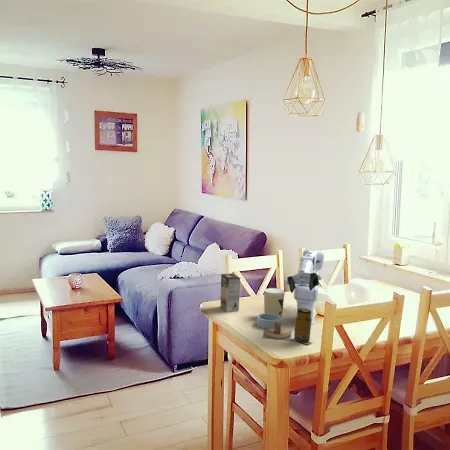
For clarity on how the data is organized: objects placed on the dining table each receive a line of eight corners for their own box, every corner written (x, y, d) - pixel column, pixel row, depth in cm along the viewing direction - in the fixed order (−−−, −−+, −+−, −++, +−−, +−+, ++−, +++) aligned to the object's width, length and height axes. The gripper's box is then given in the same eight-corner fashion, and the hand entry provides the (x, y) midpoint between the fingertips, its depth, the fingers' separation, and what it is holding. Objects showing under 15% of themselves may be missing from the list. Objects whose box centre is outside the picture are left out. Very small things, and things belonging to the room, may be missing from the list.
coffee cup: (282, 320, 211) (283, 294, 210) (261, 318, 213) (262, 292, 211) (284, 314, 220) (285, 288, 219) (264, 312, 222) (265, 287, 220)
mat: (264, 329, 199) (264, 328, 199) (291, 332, 197) (291, 331, 197) (262, 339, 188) (262, 338, 188) (290, 341, 186) (290, 340, 186)
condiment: (299, 336, 193) (302, 306, 192) (317, 341, 187) (320, 311, 186) (289, 339, 187) (291, 309, 186) (307, 345, 182) (310, 314, 181)
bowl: (258, 321, 209) (258, 312, 209) (280, 323, 208) (280, 314, 207) (255, 328, 200) (256, 319, 200) (278, 330, 198) (279, 321, 198)
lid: (265, 329, 198) (266, 318, 198) (290, 331, 196) (290, 320, 196) (263, 337, 188) (263, 325, 188) (289, 340, 187) (289, 328, 186)
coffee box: (219, 306, 229) (220, 273, 227) (232, 305, 231) (233, 273, 229) (226, 312, 221) (227, 278, 219) (239, 311, 223) (240, 277, 221)
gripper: (286, 267, 202) (280, 282, 190) (320, 262, 197) (316, 278, 185) (290, 281, 204) (284, 298, 192) (323, 277, 199) (320, 293, 187)
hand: (300, 289), depth 189 cm, fingers open, 7 cm apart
